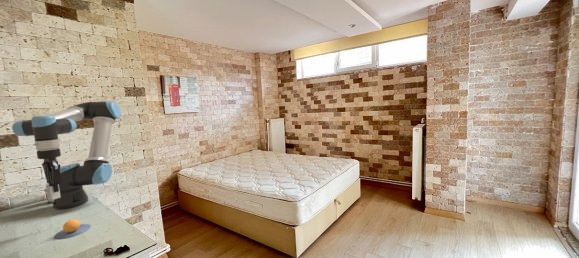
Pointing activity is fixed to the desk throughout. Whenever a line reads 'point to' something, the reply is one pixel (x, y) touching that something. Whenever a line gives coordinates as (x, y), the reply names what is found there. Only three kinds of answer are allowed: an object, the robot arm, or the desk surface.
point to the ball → (71, 226)
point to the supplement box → (49, 194)
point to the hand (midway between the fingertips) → (56, 198)
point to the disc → (80, 230)
